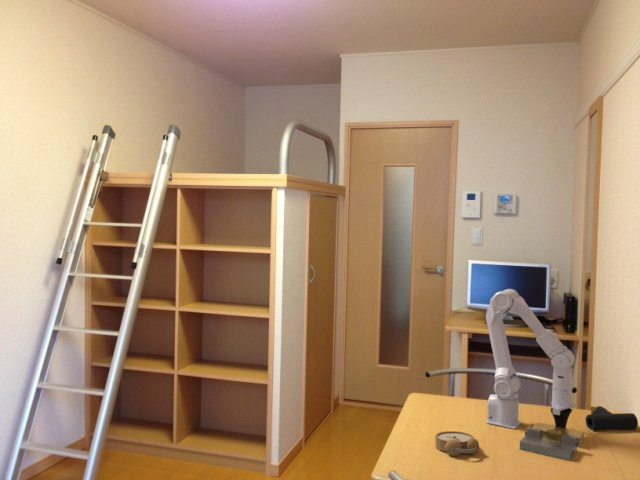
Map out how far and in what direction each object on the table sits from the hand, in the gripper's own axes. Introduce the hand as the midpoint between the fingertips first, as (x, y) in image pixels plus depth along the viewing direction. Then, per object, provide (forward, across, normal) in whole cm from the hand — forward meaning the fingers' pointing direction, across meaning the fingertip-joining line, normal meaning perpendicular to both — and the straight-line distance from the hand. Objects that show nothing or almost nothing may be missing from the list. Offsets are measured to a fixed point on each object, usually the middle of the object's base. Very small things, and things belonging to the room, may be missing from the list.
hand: (560, 431), depth 193 cm
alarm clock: (+2, -31, +22) cm, 38 cm away
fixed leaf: (+1, -16, 0) cm, 16 cm away
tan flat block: (+1, -6, 0) cm, 6 cm away
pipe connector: (+2, +18, -10) cm, 21 cm away
